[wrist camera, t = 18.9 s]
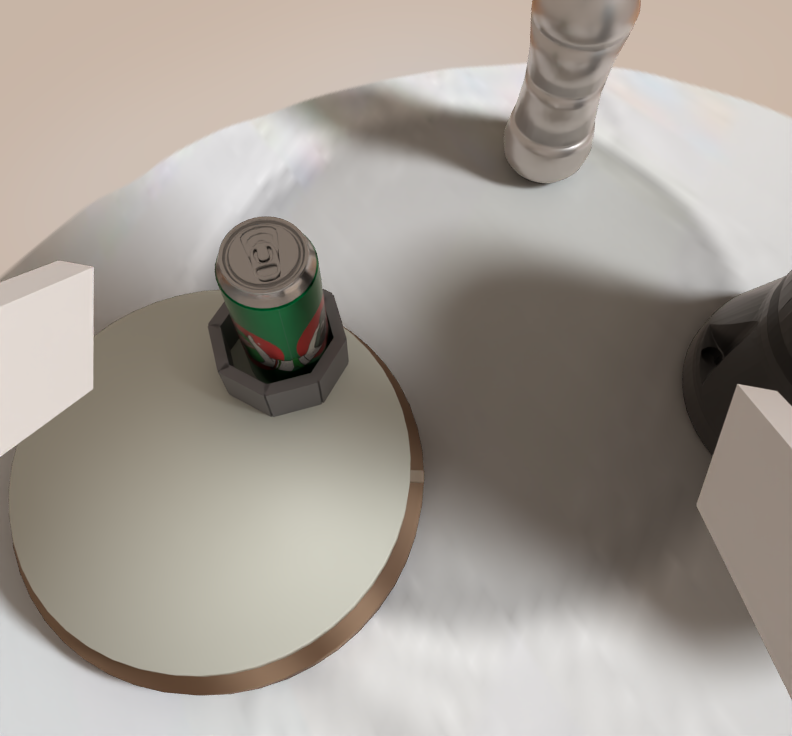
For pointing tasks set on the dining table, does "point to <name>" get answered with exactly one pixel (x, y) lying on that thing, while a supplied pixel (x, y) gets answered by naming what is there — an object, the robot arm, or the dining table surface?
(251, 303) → the soda can
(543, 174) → the plastic bottle
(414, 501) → the base
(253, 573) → the dial
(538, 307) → the dining table surface
